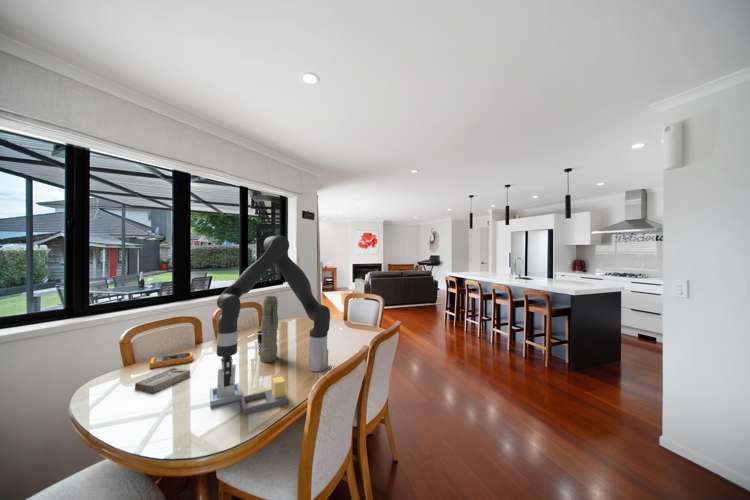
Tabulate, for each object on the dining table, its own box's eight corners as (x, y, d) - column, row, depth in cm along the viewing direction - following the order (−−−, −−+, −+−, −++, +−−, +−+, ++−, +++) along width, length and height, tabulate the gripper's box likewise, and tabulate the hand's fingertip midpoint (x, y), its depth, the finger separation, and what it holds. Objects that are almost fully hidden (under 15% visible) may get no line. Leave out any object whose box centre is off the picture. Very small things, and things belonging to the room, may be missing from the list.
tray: (239, 388, 122) (239, 382, 122) (241, 400, 113) (242, 394, 113) (209, 394, 116) (210, 388, 116) (210, 408, 107) (210, 401, 107)
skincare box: (216, 399, 112) (217, 369, 112) (218, 394, 116) (219, 365, 116) (233, 397, 113) (234, 368, 113) (235, 392, 118) (236, 363, 118)
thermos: (267, 364, 147) (269, 298, 147) (255, 358, 154) (257, 296, 154) (282, 359, 155) (284, 296, 155) (269, 354, 162) (271, 294, 162)
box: (134, 390, 119) (134, 383, 119) (173, 373, 135) (173, 367, 135) (152, 394, 116) (153, 387, 116) (190, 376, 132) (190, 370, 132)
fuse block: (281, 392, 120) (282, 373, 120) (287, 403, 112) (287, 383, 112) (240, 401, 112) (241, 381, 112) (243, 414, 103) (244, 393, 103)
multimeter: (192, 362, 148) (192, 356, 148) (149, 369, 138) (149, 363, 138) (192, 357, 155) (192, 350, 155) (151, 363, 145) (151, 357, 145)
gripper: (239, 346, 110) (238, 387, 110) (235, 336, 122) (234, 373, 122) (217, 349, 106) (216, 391, 106) (216, 338, 118) (215, 376, 118)
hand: (226, 381), depth 114 cm, fingers open, 8 cm apart
